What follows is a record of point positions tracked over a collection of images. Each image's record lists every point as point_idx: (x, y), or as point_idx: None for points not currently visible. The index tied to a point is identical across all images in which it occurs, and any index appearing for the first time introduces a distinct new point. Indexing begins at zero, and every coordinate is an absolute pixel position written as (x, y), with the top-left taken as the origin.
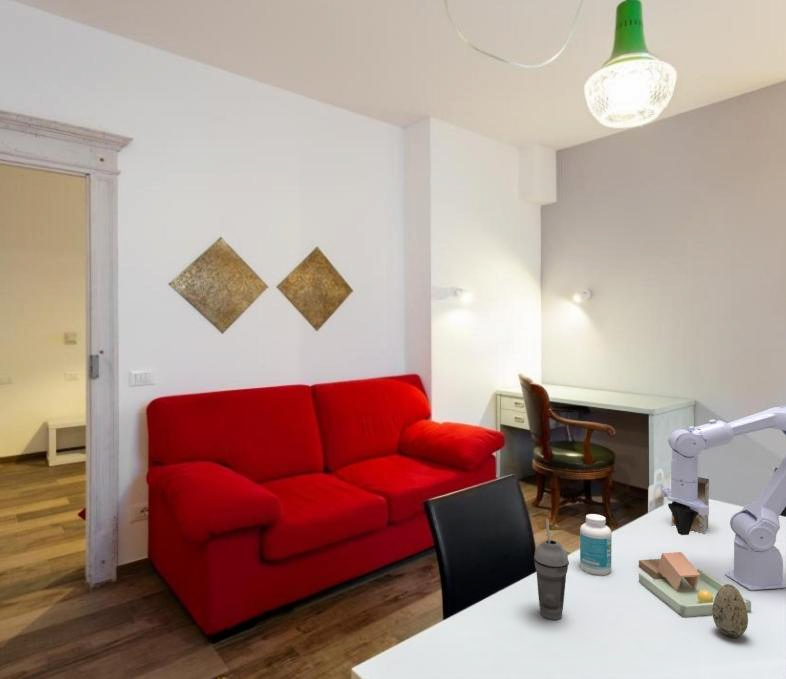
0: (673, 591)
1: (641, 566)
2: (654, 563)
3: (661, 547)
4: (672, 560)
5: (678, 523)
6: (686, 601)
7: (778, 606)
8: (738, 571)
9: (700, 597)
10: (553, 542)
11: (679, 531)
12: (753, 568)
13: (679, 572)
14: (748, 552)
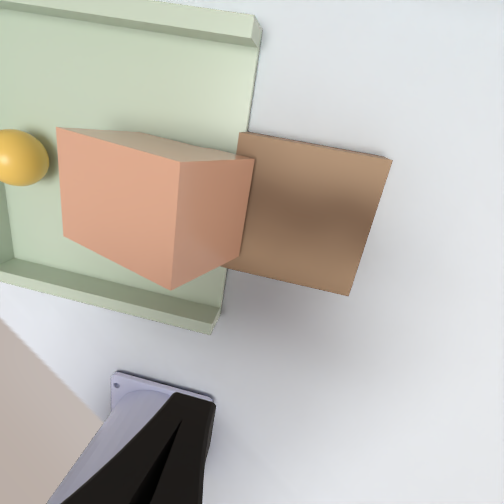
0: (136, 116)
1: (363, 153)
2: (325, 210)
3: (489, 413)
4: (130, 178)
5: (144, 474)
6: (61, 101)
7: (38, 354)
8: (145, 415)
9: (3, 130)
10: None
11: (179, 410)
12: (90, 444)
13: (69, 140)
14: (58, 497)
